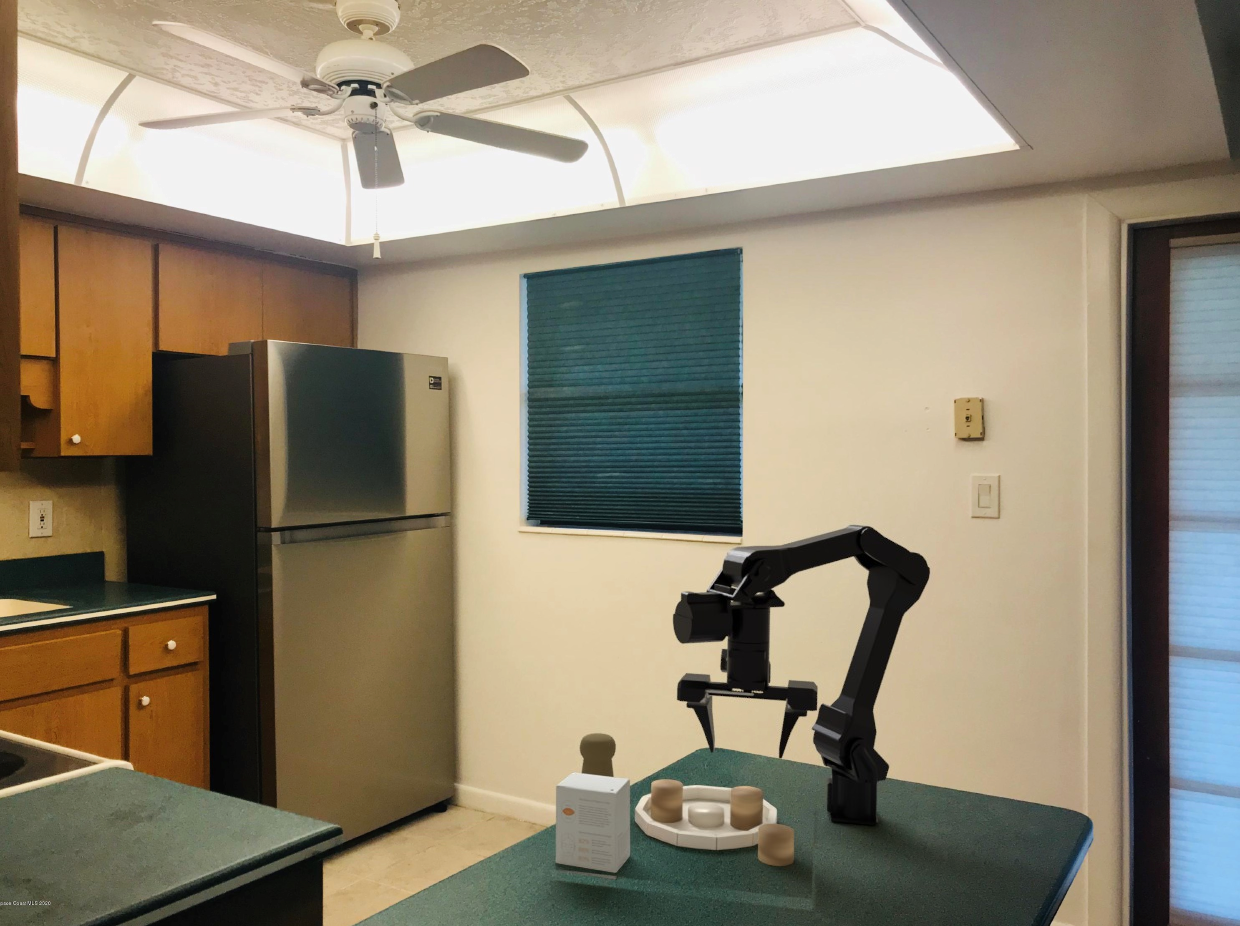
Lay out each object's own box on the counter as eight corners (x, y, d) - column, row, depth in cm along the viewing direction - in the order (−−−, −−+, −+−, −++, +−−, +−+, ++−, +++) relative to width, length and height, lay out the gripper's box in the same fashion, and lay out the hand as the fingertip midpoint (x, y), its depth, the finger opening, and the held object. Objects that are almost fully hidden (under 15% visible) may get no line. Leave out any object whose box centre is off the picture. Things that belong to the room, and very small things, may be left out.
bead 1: (684, 812, 129) (685, 780, 129) (679, 824, 125) (680, 791, 125) (653, 809, 130) (654, 777, 130) (648, 821, 126) (648, 788, 126)
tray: (779, 810, 133) (779, 792, 133) (771, 863, 115) (772, 842, 115) (650, 798, 138) (651, 780, 138) (623, 847, 119) (624, 827, 119)
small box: (630, 862, 115) (632, 778, 115) (615, 881, 109) (617, 792, 109) (571, 853, 117) (572, 770, 117) (553, 870, 112) (555, 784, 112)
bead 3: (794, 861, 116) (794, 825, 116) (793, 875, 112) (793, 838, 112) (759, 857, 117) (759, 822, 117) (756, 871, 113) (757, 835, 113)
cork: (612, 821, 128) (614, 742, 128) (571, 817, 129) (572, 739, 129) (621, 806, 134) (622, 730, 134) (581, 802, 135) (582, 727, 135)
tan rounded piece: (761, 832, 122) (762, 798, 122) (728, 828, 123) (729, 795, 123) (763, 820, 127) (764, 787, 127) (731, 817, 128) (732, 784, 128)
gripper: (818, 634, 131) (816, 743, 131) (689, 627, 135) (687, 733, 135) (818, 648, 120) (816, 767, 120) (677, 639, 124) (675, 755, 124)
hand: (746, 754), depth 125 cm, fingers open, 9 cm apart
